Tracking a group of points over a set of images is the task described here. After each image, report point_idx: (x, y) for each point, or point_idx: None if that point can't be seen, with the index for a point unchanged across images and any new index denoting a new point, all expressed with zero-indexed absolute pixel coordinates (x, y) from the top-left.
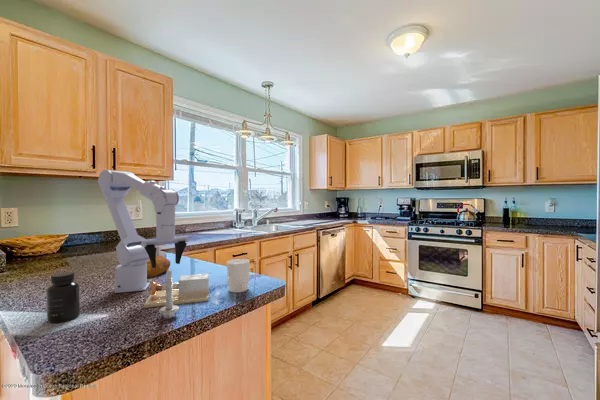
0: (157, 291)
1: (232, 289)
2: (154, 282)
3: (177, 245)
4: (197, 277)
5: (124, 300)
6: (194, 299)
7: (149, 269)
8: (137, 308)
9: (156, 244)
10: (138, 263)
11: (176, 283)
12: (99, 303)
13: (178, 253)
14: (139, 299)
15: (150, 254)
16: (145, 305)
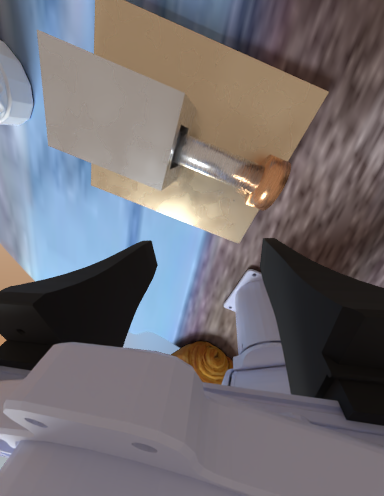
0: (235, 219)
1: (4, 50)
2: (270, 182)
3: (90, 336)
4: (93, 98)
5: (323, 225)
6: (151, 13)
7: (209, 359)
8: (339, 108)
9: (298, 403)
10: (279, 349)
11: (189, 145)
12: (381, 244)
13: (119, 272)
14: (289, 205)
15: (356, 279)
16: (321, 91)
